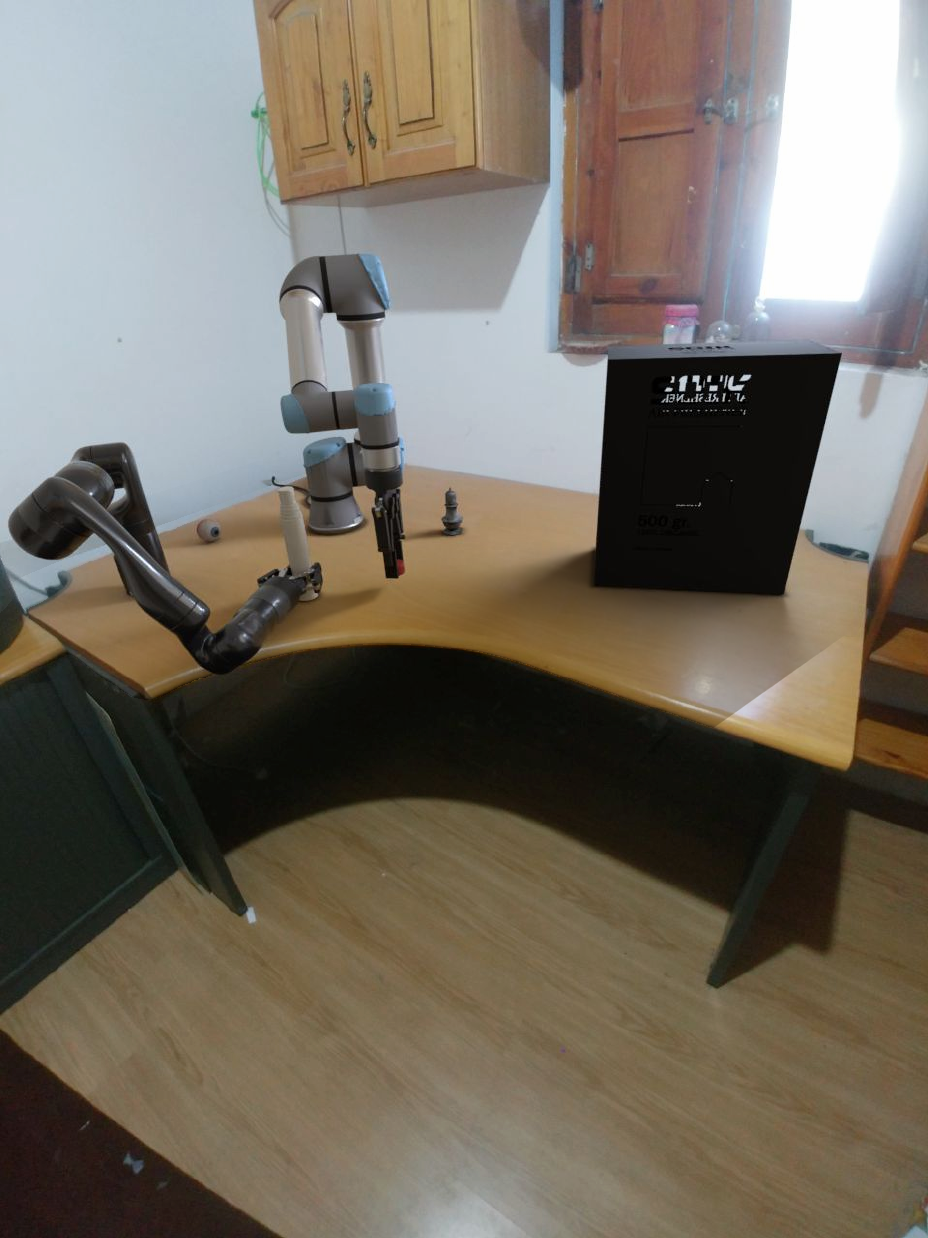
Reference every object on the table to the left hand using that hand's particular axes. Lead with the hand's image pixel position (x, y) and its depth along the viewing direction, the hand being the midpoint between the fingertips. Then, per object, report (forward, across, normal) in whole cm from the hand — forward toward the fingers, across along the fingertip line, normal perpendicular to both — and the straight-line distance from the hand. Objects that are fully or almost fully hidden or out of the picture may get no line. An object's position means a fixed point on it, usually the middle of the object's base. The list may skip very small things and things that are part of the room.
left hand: (307, 565), depth 132 cm
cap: (+3, -19, 0) cm, 19 cm away
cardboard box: (+17, -81, +6) cm, 83 cm away
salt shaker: (+36, -25, +6) cm, 44 cm away
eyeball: (+26, +40, +6) cm, 48 cm away
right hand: (+3, -19, +2) cm, 19 cm away
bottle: (-3, 0, +6) cm, 7 cm away
